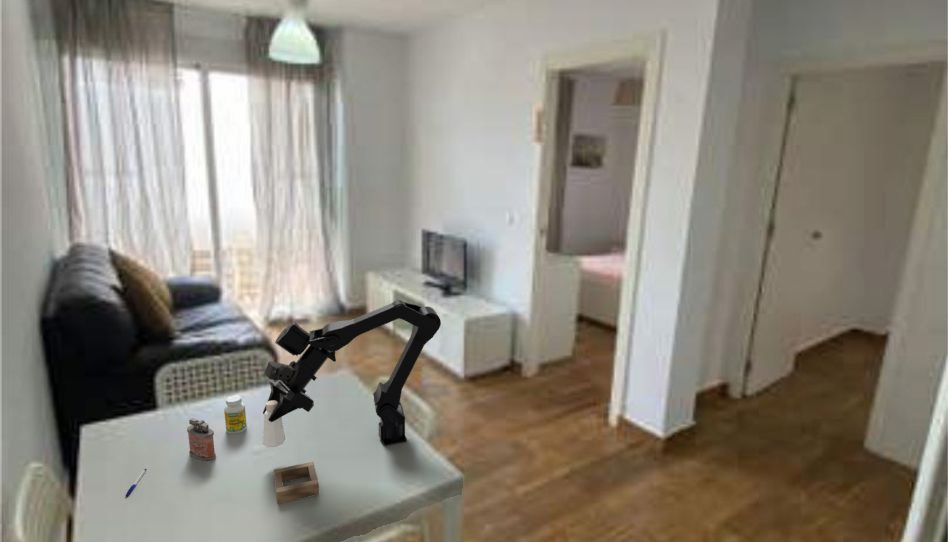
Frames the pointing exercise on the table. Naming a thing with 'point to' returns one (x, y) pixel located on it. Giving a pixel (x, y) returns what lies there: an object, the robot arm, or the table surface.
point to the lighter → (201, 441)
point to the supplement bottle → (235, 415)
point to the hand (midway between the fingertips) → (267, 417)
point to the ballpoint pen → (135, 483)
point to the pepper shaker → (272, 427)
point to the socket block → (298, 489)
